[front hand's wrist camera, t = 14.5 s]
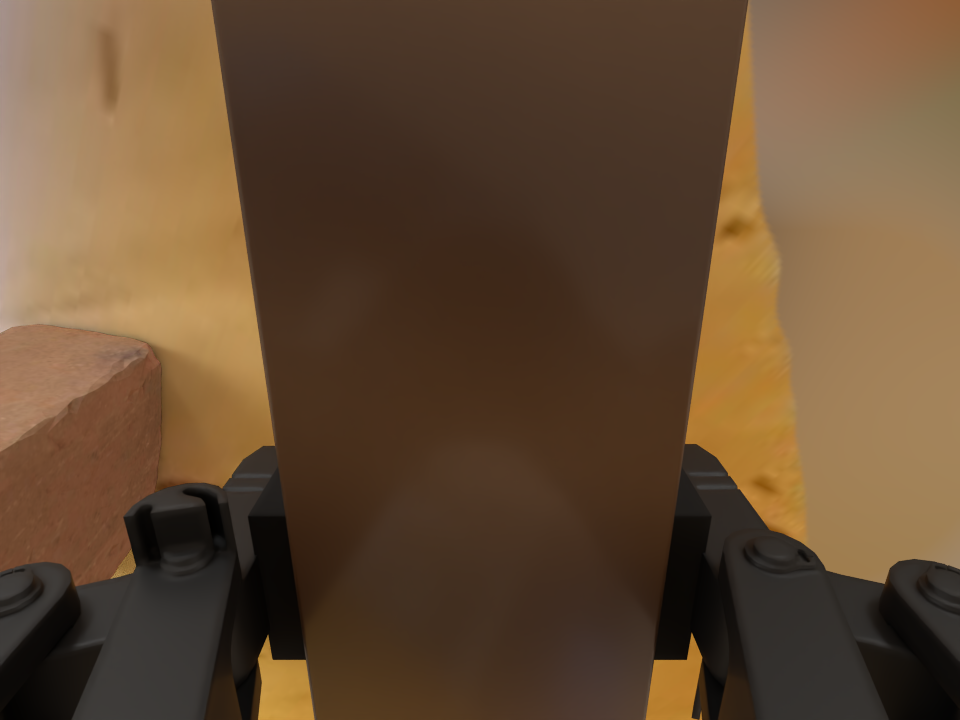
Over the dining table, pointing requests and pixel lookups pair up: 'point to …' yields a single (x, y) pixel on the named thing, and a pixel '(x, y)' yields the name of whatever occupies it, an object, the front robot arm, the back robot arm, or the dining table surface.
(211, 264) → the dining table surface
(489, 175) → the beam
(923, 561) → the front robot arm
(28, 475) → the stone
